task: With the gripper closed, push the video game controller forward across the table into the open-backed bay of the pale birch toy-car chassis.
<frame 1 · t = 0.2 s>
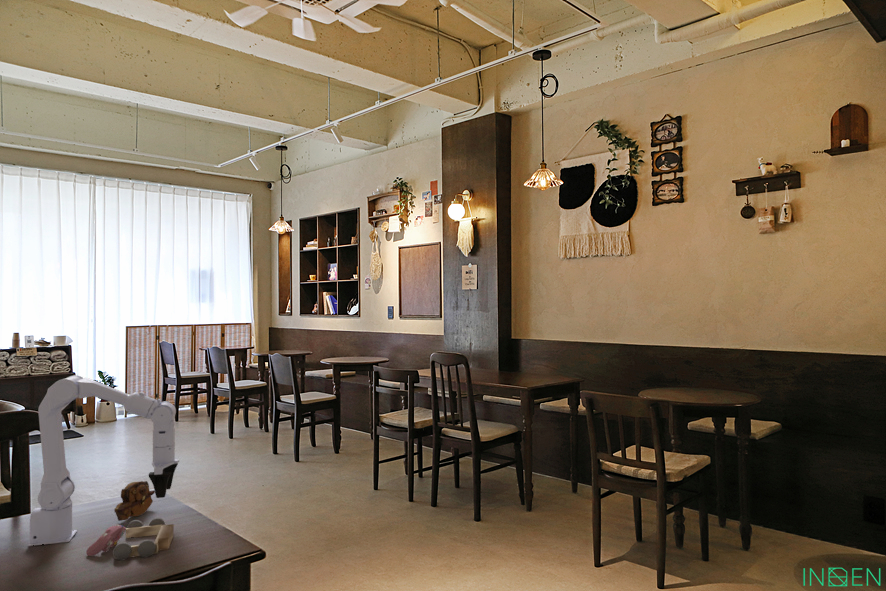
hand: (163, 493, 172), 10 cm above the table, tool pointing down, fingers open, 7 cm apart
video game controller: (107, 550, 158), on the table
wooden carving: (136, 516, 183), on the table
chassis: (139, 545, 160), on the table
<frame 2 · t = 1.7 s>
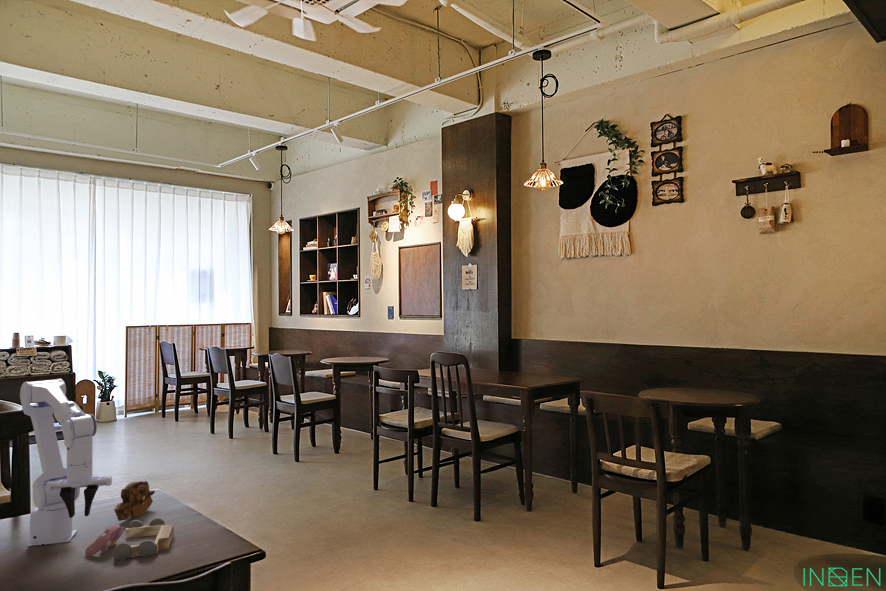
hand: (79, 515, 156), 9 cm above the table, tool pointing down, fingers open, 3 cm apart
nothing on the table moved.
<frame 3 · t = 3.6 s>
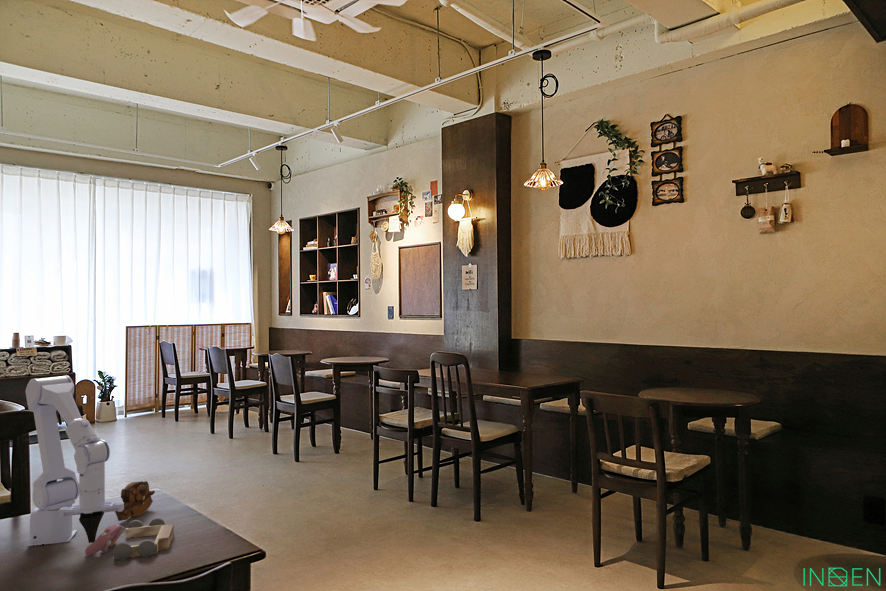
hand: (92, 541, 157), 2 cm above the table, tool pointing down, fingers closed
video game controller: (105, 549, 158), on the table, touching gripper
everything else where it was.
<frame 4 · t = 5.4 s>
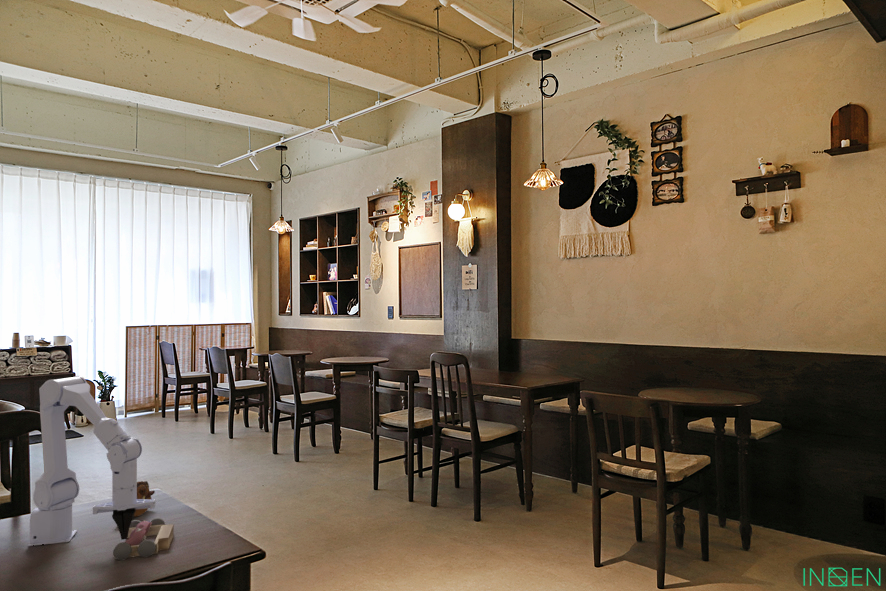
hand: (124, 537, 159), 2 cm above the table, tool pointing down, fingers closed
video game controller: (137, 545, 161), on the table, touching gripper
everything else where it was.
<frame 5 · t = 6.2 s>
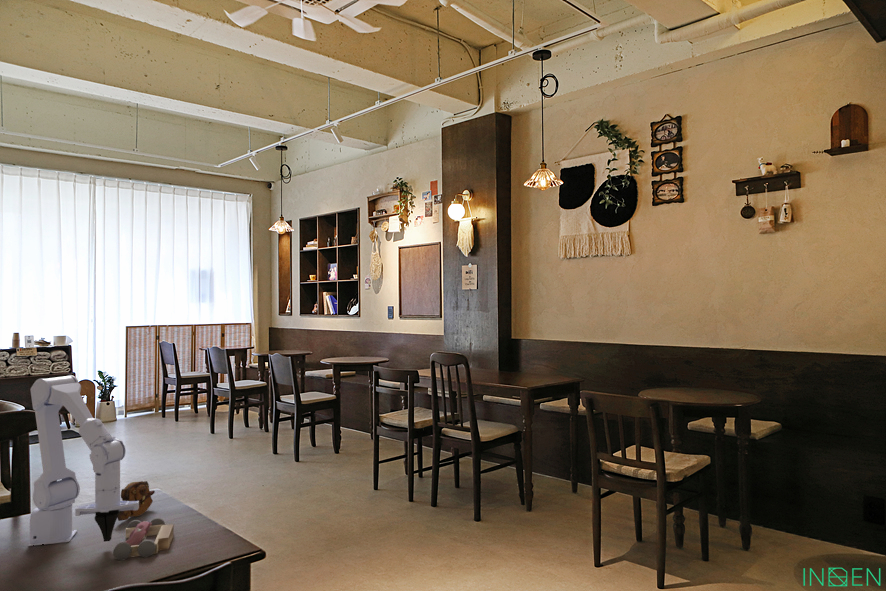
hand: (107, 539, 158), 2 cm above the table, tool pointing down, fingers closed
video game controller: (137, 546, 161), on the table
everything else where it was.
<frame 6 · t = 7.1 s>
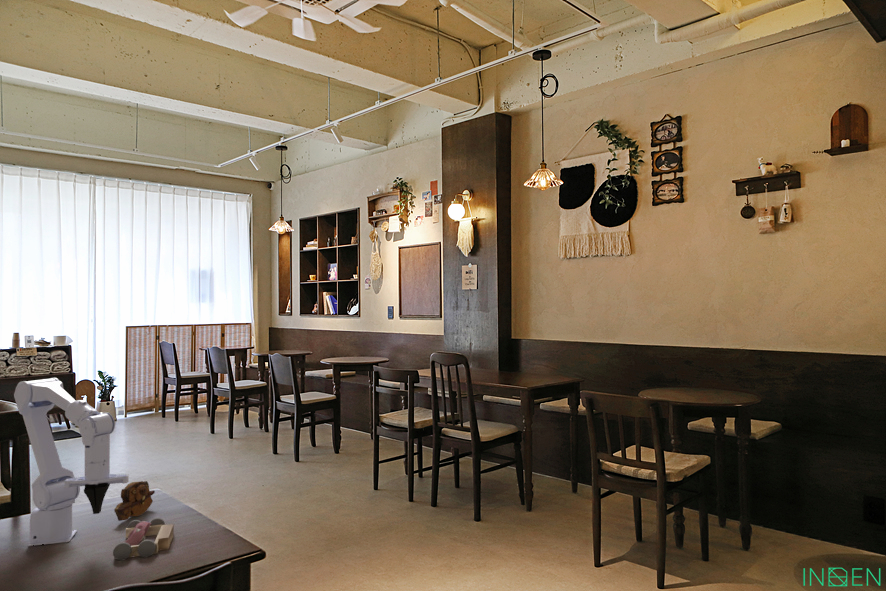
hand: (97, 512, 159), 9 cm above the table, tool pointing down, fingers closed
nothing on the table moved.
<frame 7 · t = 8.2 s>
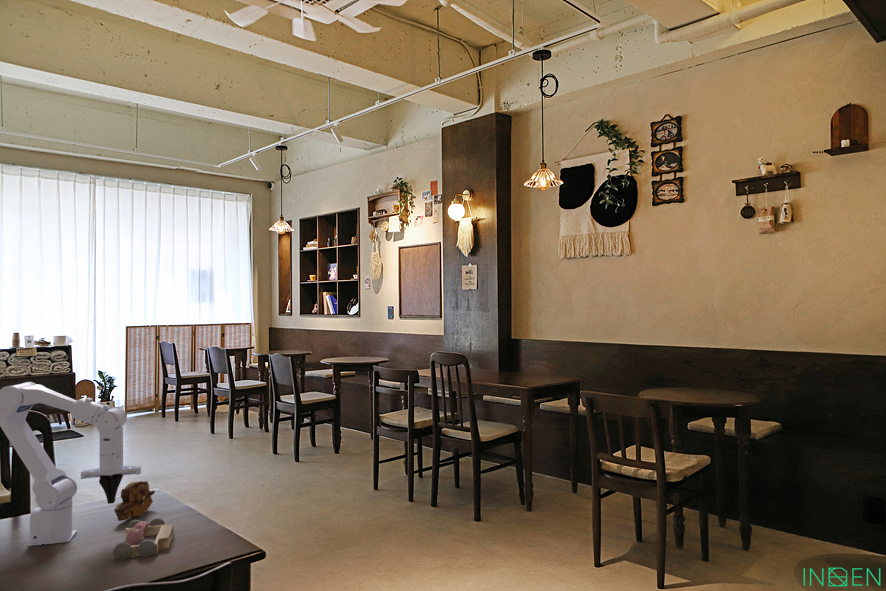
hand: (111, 502, 166), 9 cm above the table, tool pointing down, fingers closed
nothing on the table moved.
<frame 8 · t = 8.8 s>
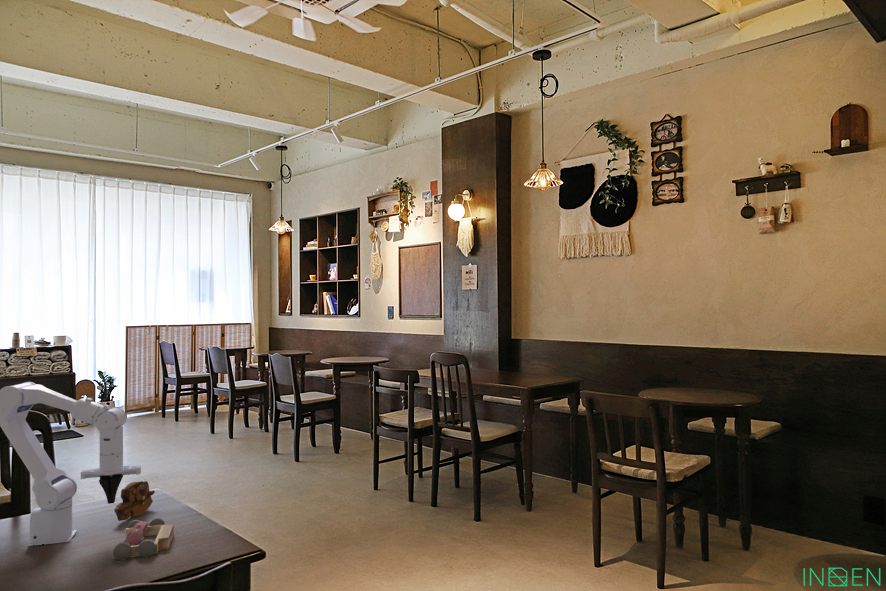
hand: (111, 502, 166), 9 cm above the table, tool pointing down, fingers closed
nothing on the table moved.
at the end: video game controller 1.7 cm off-centre on the chassis, point 0.0 cm above the chassis's base; video game controller tilted 0°; video game controller moved 6.2 cm from its start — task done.
